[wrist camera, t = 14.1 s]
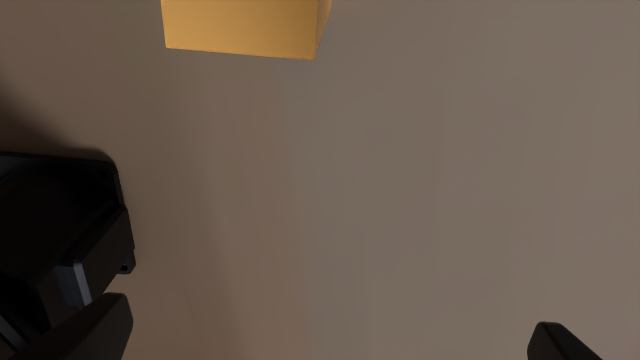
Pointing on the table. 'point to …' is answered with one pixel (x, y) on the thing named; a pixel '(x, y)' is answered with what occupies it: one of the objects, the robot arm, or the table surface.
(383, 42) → the table surface
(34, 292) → the robot arm
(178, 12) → the orange bar
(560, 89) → the table surface
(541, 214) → the table surface
